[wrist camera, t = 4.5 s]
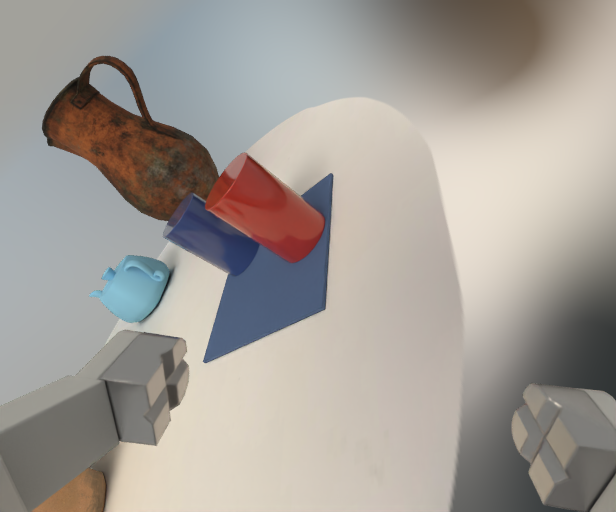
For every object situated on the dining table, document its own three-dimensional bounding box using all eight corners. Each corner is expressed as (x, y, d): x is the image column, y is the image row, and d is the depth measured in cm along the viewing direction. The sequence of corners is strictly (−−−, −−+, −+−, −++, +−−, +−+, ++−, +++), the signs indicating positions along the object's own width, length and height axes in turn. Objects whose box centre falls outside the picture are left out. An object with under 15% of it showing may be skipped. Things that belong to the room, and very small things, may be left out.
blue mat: (333, 174, 40) (330, 172, 40) (325, 309, 29) (321, 307, 28) (238, 246, 51) (236, 244, 51) (205, 363, 40) (202, 362, 40)
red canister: (327, 201, 37) (252, 140, 32) (323, 246, 33) (237, 184, 28) (287, 229, 41) (215, 178, 36) (280, 272, 37) (197, 221, 32)
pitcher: (206, 208, 80) (67, 118, 65) (264, 148, 68) (113, 22, 54) (187, 261, 68) (14, 166, 53) (254, 199, 57) (58, 57, 42)
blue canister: (263, 227, 47) (198, 183, 42) (255, 264, 43) (181, 220, 38) (236, 247, 50) (174, 209, 45) (226, 283, 46) (156, 246, 41)
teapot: (99, 271, 77) (134, 229, 67) (145, 292, 82) (183, 256, 72) (71, 320, 68) (106, 279, 59) (124, 340, 73) (165, 306, 64)
